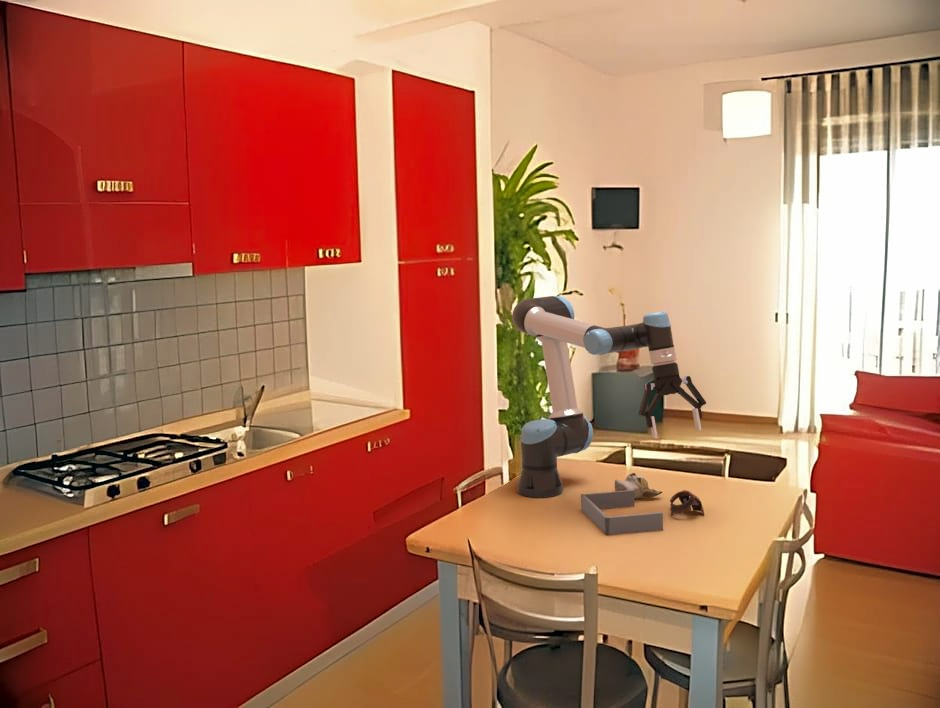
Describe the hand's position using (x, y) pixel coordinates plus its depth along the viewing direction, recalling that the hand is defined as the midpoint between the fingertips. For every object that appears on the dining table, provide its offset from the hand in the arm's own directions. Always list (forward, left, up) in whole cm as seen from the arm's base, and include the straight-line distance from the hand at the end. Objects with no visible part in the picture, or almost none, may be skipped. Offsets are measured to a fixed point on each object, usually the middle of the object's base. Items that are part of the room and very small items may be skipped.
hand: (677, 434), depth 259 cm
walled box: (-1, -17, -25) cm, 30 cm away
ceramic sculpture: (-20, -6, -25) cm, 33 cm away
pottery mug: (-1, +3, -25) cm, 25 cm away
